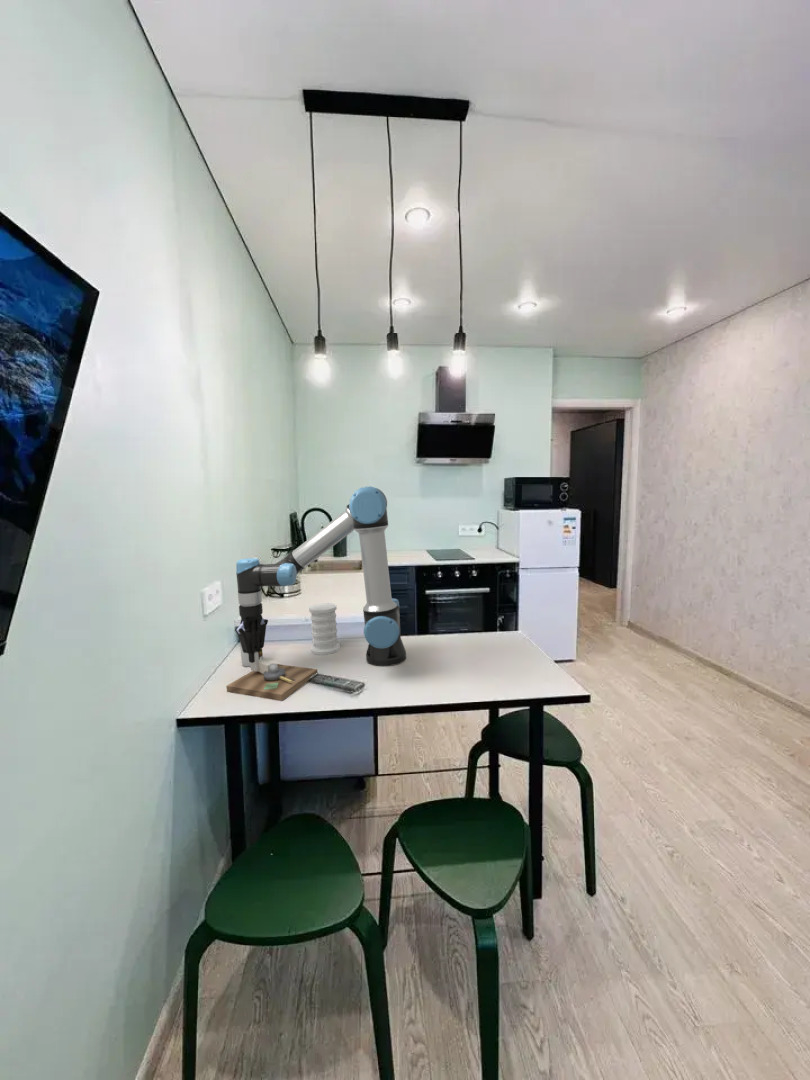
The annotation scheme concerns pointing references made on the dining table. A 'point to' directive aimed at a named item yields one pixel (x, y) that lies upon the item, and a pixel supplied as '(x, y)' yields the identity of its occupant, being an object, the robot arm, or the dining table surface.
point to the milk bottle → (247, 657)
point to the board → (272, 683)
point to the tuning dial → (272, 671)
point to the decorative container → (324, 629)
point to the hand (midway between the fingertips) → (255, 670)
